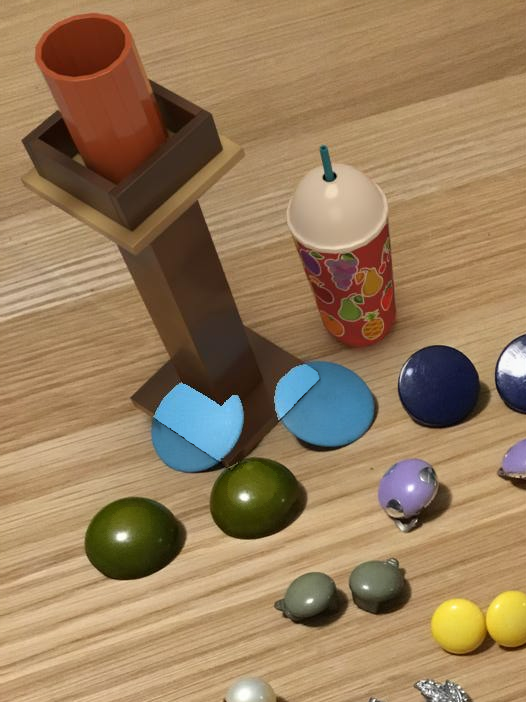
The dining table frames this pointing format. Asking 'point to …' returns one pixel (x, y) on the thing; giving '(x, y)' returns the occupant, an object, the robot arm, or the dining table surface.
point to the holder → (172, 258)
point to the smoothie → (345, 250)
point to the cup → (101, 93)
